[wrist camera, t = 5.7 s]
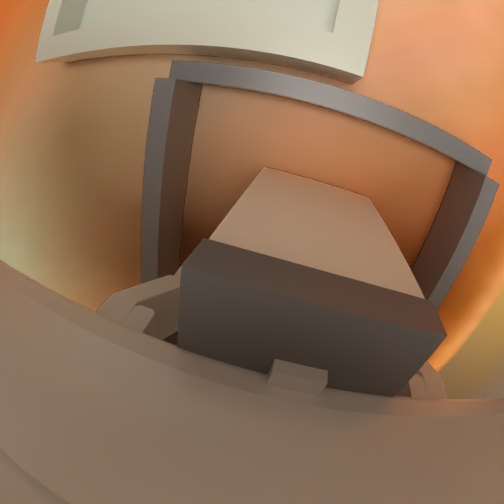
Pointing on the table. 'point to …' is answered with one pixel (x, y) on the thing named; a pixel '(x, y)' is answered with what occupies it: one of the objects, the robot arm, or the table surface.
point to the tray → (216, 31)
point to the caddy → (307, 292)
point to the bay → (323, 95)
